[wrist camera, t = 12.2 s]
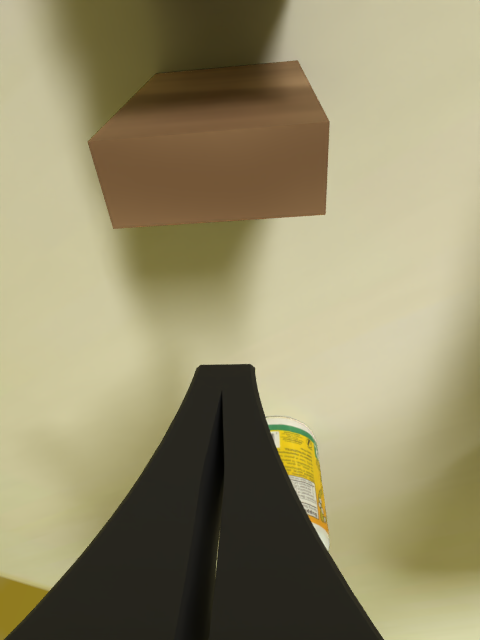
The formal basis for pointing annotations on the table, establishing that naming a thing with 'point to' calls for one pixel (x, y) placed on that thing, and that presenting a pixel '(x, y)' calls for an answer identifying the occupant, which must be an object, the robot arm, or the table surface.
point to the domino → (215, 148)
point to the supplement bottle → (302, 468)
